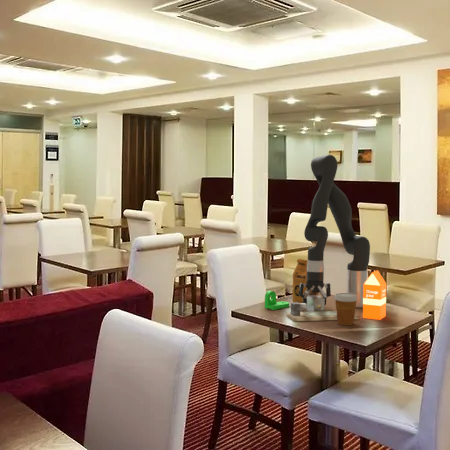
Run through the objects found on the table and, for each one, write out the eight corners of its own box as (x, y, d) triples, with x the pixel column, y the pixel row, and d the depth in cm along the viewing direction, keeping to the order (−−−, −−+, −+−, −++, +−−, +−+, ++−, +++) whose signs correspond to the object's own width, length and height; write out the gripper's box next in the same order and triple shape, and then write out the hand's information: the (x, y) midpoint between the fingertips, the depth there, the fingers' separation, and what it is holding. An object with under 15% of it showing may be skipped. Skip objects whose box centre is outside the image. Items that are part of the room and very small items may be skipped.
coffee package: (303, 308, 271) (304, 261, 270) (289, 304, 282) (290, 258, 281) (321, 306, 275) (322, 260, 274) (307, 302, 286) (307, 257, 285)
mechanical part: (273, 310, 267) (274, 293, 267) (264, 308, 271) (264, 291, 271) (291, 307, 275) (291, 290, 274) (282, 305, 279) (282, 288, 279)
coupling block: (316, 309, 269) (316, 294, 268) (324, 314, 258) (325, 298, 257) (305, 310, 268) (306, 294, 267) (314, 314, 257) (314, 299, 256)
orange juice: (386, 316, 255) (386, 270, 254) (380, 319, 247) (381, 272, 246) (368, 314, 259) (369, 269, 258) (362, 317, 251) (363, 271, 250)
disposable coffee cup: (329, 323, 239) (329, 294, 238) (342, 320, 246) (342, 291, 245) (348, 327, 232) (349, 297, 232) (361, 323, 239) (362, 294, 238)
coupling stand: (349, 313, 259) (349, 299, 258) (359, 319, 248) (359, 304, 248) (286, 315, 253) (286, 301, 253) (293, 321, 243) (293, 305, 242)
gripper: (327, 269, 267) (326, 304, 268) (297, 269, 264) (296, 304, 265) (333, 271, 259) (332, 307, 260) (302, 271, 257) (301, 307, 258)
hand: (314, 306), depth 263 cm, fingers open, 8 cm apart
